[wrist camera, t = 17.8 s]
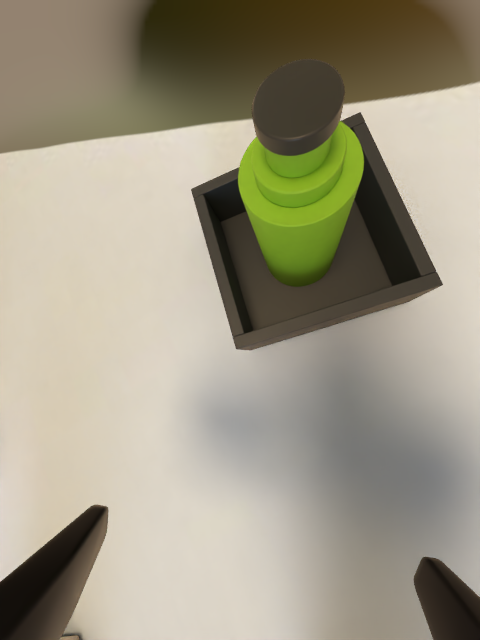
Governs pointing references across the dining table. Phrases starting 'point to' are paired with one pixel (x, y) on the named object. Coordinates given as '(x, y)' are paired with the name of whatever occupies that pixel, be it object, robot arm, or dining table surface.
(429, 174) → the dining table surface
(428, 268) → the tote
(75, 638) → the coffee box
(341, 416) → the dining table surface
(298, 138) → the green bottle
